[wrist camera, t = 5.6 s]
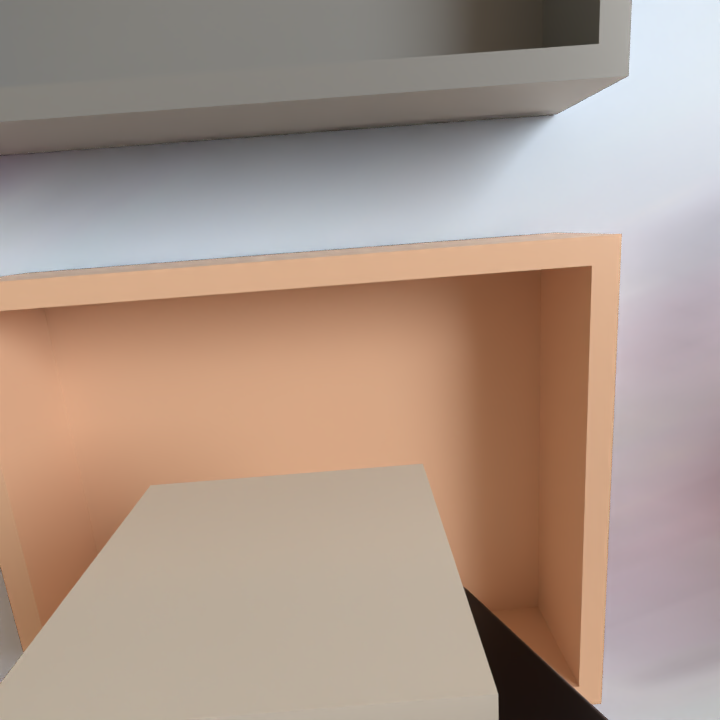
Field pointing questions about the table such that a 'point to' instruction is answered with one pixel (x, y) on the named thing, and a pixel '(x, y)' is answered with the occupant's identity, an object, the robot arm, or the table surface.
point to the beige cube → (265, 610)
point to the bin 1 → (291, 66)
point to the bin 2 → (328, 407)
